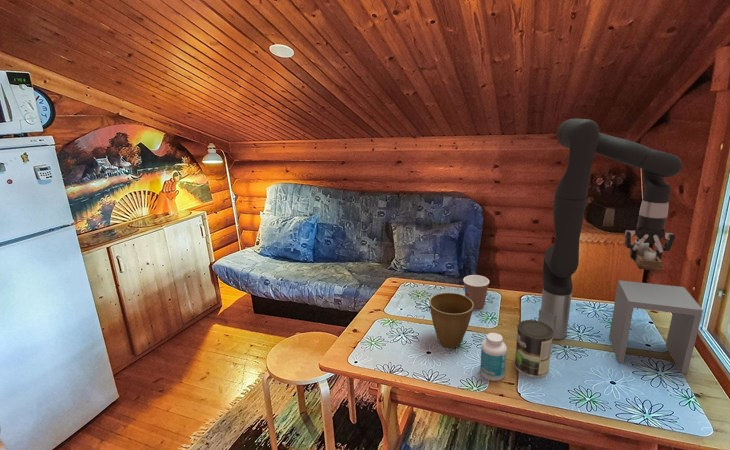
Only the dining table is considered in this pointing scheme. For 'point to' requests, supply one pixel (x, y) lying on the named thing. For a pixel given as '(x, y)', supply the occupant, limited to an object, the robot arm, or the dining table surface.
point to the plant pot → (450, 317)
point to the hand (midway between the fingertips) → (644, 260)
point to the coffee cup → (476, 290)
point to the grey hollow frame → (659, 300)
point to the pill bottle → (493, 357)
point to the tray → (648, 263)
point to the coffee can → (533, 348)
